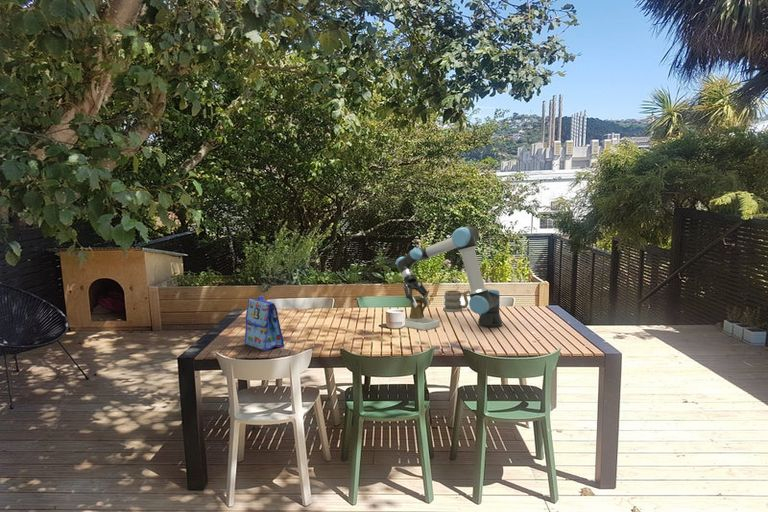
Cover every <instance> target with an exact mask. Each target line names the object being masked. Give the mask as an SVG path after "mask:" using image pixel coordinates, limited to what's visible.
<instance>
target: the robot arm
mask: <svg viewBox="0 0 768 512" xmlns="http://www.w3.org/2000/svg"><path fill="white" fill-rule="evenodd" d="M479 238H480V233H479V230H478V229H477V228H476V227H475V226H471V225H469V226H461V227H459V228H456V229H455V230H454V231H453V233H452V235H451V237H448V238H446V239H444V240H441V241H439V242H436V243H434V244H431V245H428V246H427V247H424V248H422V249H420V248H418V247H414V248H413V249H411V250H410V251H409V252H408V253H407V254H406V255H405V256H400V257H398V258H397V259H396V260H395V264H396V266H397V269H398V270H399V273H400V275H401V277H402V279H403V281H404V284H403V285H402V289H403V290H404V293H405V298H406V299H408V301H410V303H411V302H412V303H413V305H414V307H415V308H416V307H417V303H416V301H415V297H414V296H413V290H415V291H416V292H418V293H419V294H420V295H422V297H423V296H424V295H425V294H426V293H427V291H428V290H427V289H426V288H425V286H424V285H423V283H422V282H418V281H417V278H416V277H415V274H414V272H413V270H412V268H411V267H412V266H413V265H414V264H416V263H417V262H422V261H426V260H429V259H430V258H434V257H436V256H439V255H440V254H441V255H442V254H444V253H446V252H449V251H452V250H455V249H457V251H458V252H459V253H461V257H462V261H463V262H462V263H463V265H464V270H465V273H466V277H467V280H468V284H469V289H470V293H468V294H469V300H468V306H469V309H470V311H472V312H473V313H474V314H477V315H479V318H478V321H477V324H478V325H477V326H479V327H482V328H488V329H495V328H500V327H501V328H502V326H503V321H502V316H501V315H500V302H501V301H500V297H501V295H500V290H497V289H488V288H486V287H485V283H484V279H483V275H482V272H481V268H480V265H479V261H478V256H477V253H476V248H477V242H478V241H479ZM429 294H430V292H429V293H428V295H427V296H426V298H425V300H426V303H427V305H426V307H428V306H429V305H430V303H431V302H430V301H429V297H428V296H429Z"/></svg>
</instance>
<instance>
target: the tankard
mask: <svg viewBox="0 0 768 512" xmlns="http://www.w3.org/2000/svg"><path fill="white" fill-rule="evenodd" d="M470 292H471V290H469V289H468V290H467V291H464V292H461V291H459V290H446V291H445V292H444V295H443V296H444V297H443V298H444V302H443V303H444V307H443V312H446V313H459V312H461V311H462V310H463V309H467V307H468V306H469V299H468V296H467V295H468V294H469V293H470ZM461 295H462V296H463V299H464V302H465V303H464V305H462V301H461V298H462V296H461Z"/></svg>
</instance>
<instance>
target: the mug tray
mask: <svg viewBox="0 0 768 512" xmlns="http://www.w3.org/2000/svg"><path fill="white" fill-rule="evenodd" d="M404 319H405V325H404V326H403V327H405V328H410V329H414V330H419V331H424V332H426V331H429V330H432V329H436V328H439V327H441V325H440V324H441V323H440V322H441V320H440V319H434V318H429V317H428V318H427V317H425V316H424V317H423V318H420V319H412V318H410V317H408V318H404Z"/></svg>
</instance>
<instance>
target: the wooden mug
mask: <svg viewBox="0 0 768 512" xmlns="http://www.w3.org/2000/svg"><path fill="white" fill-rule="evenodd" d="M428 293H429V294H430V289H429V290H427V293H426V294H425V295H424V296H422V298H421V299H415V298H414V299H415V301H416V303H417V307H416V308H415V307H414V305H413V303H412V302H411V301H410V313H409V318H412V319H420V318H423V317H424V318H425V314H424V311H425V309H426V307H427V303H426V300H425V298H426V296H427V295H428V296H429V294H428ZM428 296H427V297H428ZM422 305H423V306H422Z"/></svg>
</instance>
